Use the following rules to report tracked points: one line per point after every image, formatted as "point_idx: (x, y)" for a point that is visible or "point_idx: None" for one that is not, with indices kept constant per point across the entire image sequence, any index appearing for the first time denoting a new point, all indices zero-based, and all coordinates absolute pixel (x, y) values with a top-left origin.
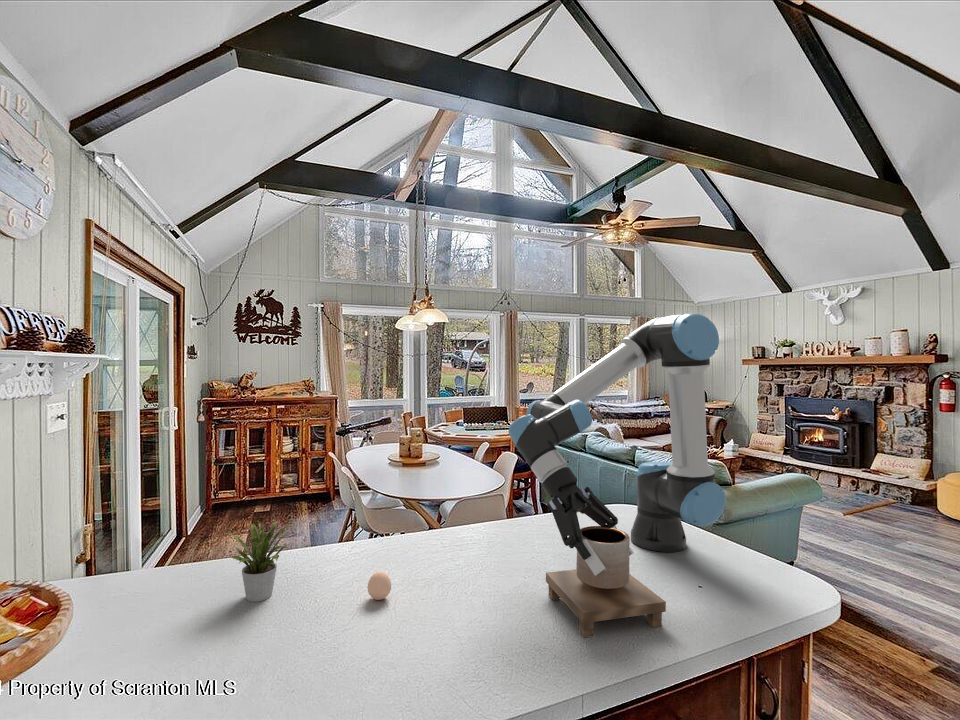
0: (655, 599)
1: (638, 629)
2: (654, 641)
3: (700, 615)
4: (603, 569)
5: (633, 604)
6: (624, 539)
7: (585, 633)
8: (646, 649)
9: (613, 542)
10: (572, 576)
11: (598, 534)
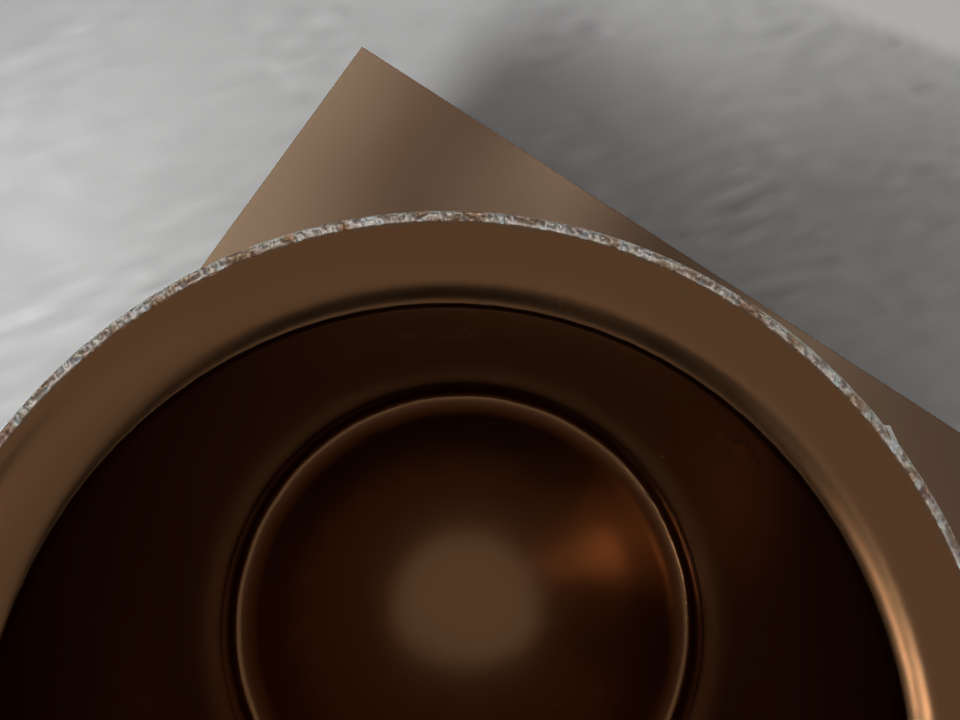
0: (383, 123)
1: None
2: (608, 118)
3: (65, 6)
4: (887, 428)
5: (598, 228)
6: (407, 281)
7: None
8: (731, 120)
9: (104, 670)
10: None
11: None
